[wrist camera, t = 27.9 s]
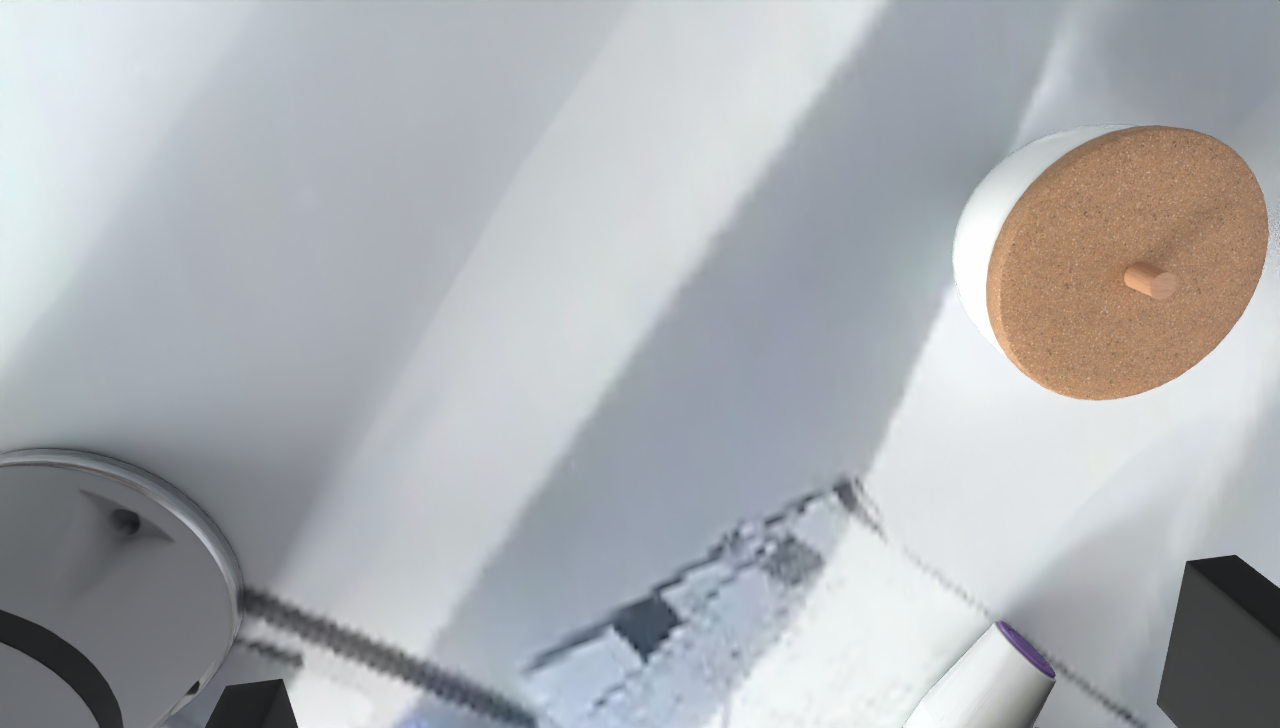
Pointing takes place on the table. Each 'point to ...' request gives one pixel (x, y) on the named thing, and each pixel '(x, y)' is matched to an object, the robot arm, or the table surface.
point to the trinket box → (1111, 255)
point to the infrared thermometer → (989, 686)
